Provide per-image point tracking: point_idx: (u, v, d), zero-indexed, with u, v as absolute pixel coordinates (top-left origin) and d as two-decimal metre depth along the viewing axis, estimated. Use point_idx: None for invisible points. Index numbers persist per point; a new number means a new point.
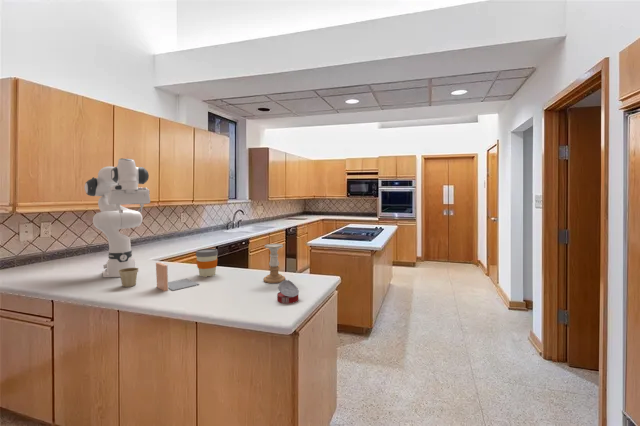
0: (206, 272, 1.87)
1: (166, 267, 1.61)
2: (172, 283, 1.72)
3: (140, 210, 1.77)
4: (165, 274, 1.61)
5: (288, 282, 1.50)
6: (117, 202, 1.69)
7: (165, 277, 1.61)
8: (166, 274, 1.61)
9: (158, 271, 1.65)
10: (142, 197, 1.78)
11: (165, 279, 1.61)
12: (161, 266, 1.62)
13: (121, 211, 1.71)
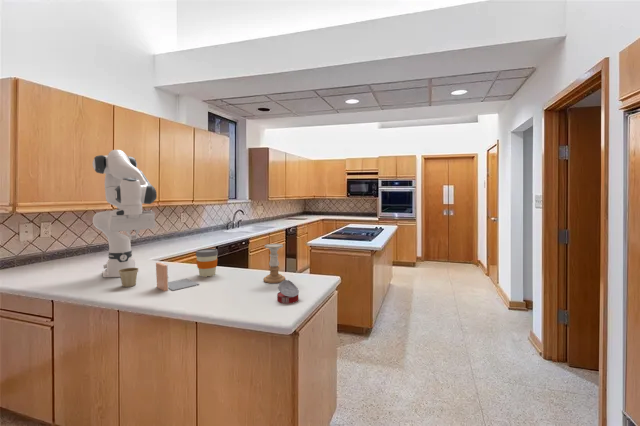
0: (206, 272, 1.87)
1: (166, 267, 1.61)
2: (172, 283, 1.72)
3: (135, 237, 1.56)
4: (165, 274, 1.61)
5: (288, 282, 1.50)
6: (118, 229, 1.49)
7: (165, 277, 1.61)
8: (166, 274, 1.61)
9: (158, 271, 1.65)
10: (146, 222, 1.58)
11: (165, 279, 1.61)
12: (161, 266, 1.62)
13: (131, 237, 1.54)
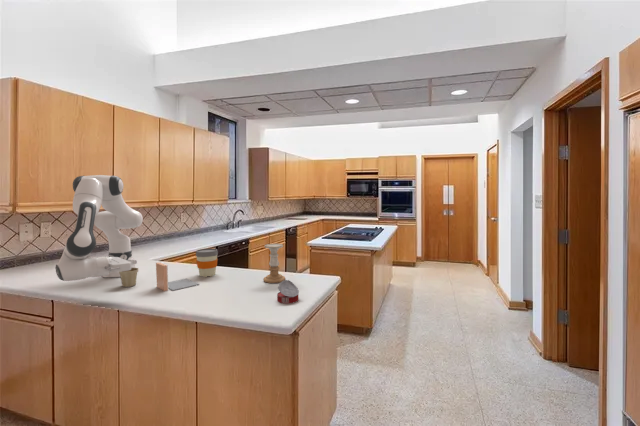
0: (206, 272, 1.87)
1: (166, 267, 1.61)
2: (172, 283, 1.72)
3: None
4: (165, 274, 1.61)
5: (288, 282, 1.50)
6: None
7: (165, 277, 1.61)
8: (166, 274, 1.61)
9: (158, 271, 1.65)
10: None
11: (165, 279, 1.61)
12: (161, 266, 1.62)
13: None
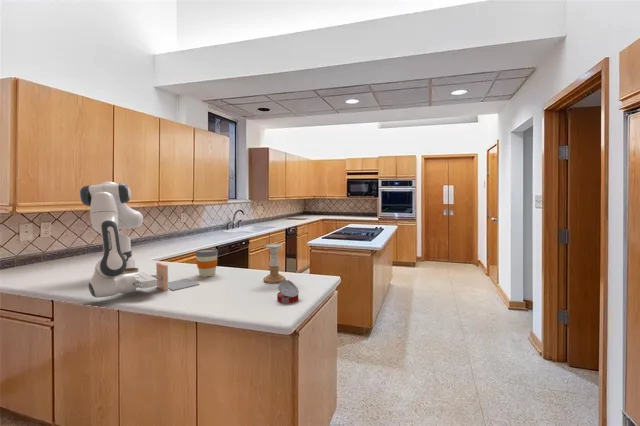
0: (206, 272, 1.87)
1: (166, 267, 1.61)
2: (172, 283, 1.72)
3: None
4: (165, 274, 1.61)
5: (288, 282, 1.50)
6: None
7: (165, 277, 1.61)
8: (166, 274, 1.61)
9: (158, 271, 1.65)
10: None
11: (165, 279, 1.61)
12: (161, 266, 1.62)
13: None
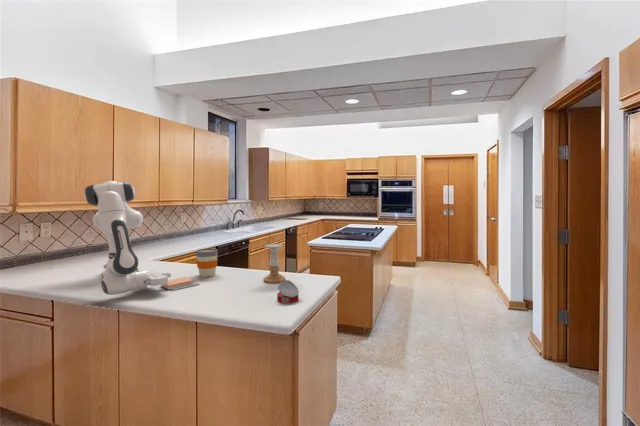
0: (206, 272, 1.87)
1: (191, 283, 1.71)
2: None
3: None
4: (184, 283, 1.68)
5: (288, 282, 1.50)
6: None
7: (181, 283, 1.67)
8: (184, 284, 1.68)
9: (179, 279, 1.73)
10: None
11: (179, 284, 1.66)
12: (189, 279, 1.73)
13: None
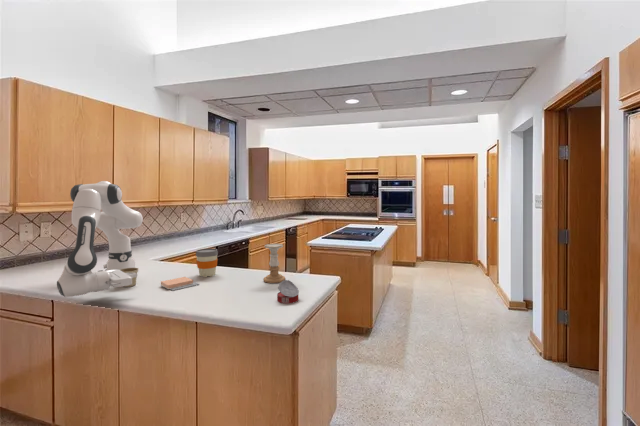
0: (206, 272, 1.87)
1: (191, 283, 1.71)
2: None
3: None
4: (184, 283, 1.68)
5: (288, 282, 1.50)
6: None
7: (181, 283, 1.67)
8: (184, 284, 1.68)
9: (179, 279, 1.73)
10: None
11: (179, 284, 1.66)
12: (189, 279, 1.73)
13: None
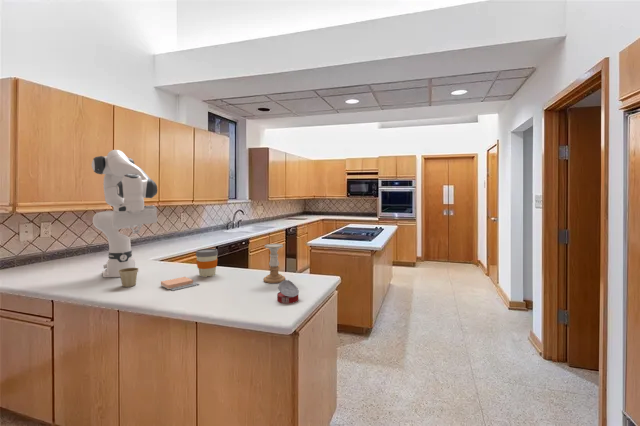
0: (206, 272, 1.87)
1: (191, 283, 1.71)
2: None
3: (137, 231, 1.62)
4: (184, 283, 1.68)
5: (288, 282, 1.50)
6: (121, 224, 1.56)
7: (181, 283, 1.67)
8: (184, 284, 1.68)
9: (179, 279, 1.73)
10: (148, 217, 1.64)
11: (179, 284, 1.66)
12: (189, 279, 1.73)
13: (134, 232, 1.61)
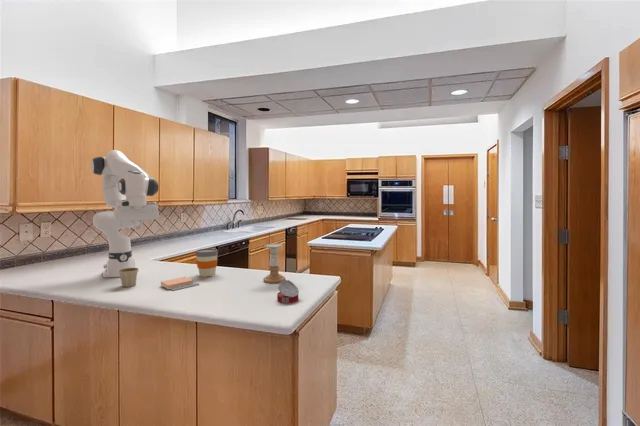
0: (206, 272, 1.87)
1: (191, 283, 1.71)
2: None
3: (139, 227, 1.62)
4: (184, 283, 1.68)
5: (288, 282, 1.50)
6: (124, 219, 1.56)
7: (181, 283, 1.67)
8: (184, 284, 1.68)
9: (179, 279, 1.73)
10: (150, 213, 1.65)
11: (179, 284, 1.66)
12: (189, 279, 1.73)
13: (136, 228, 1.61)
